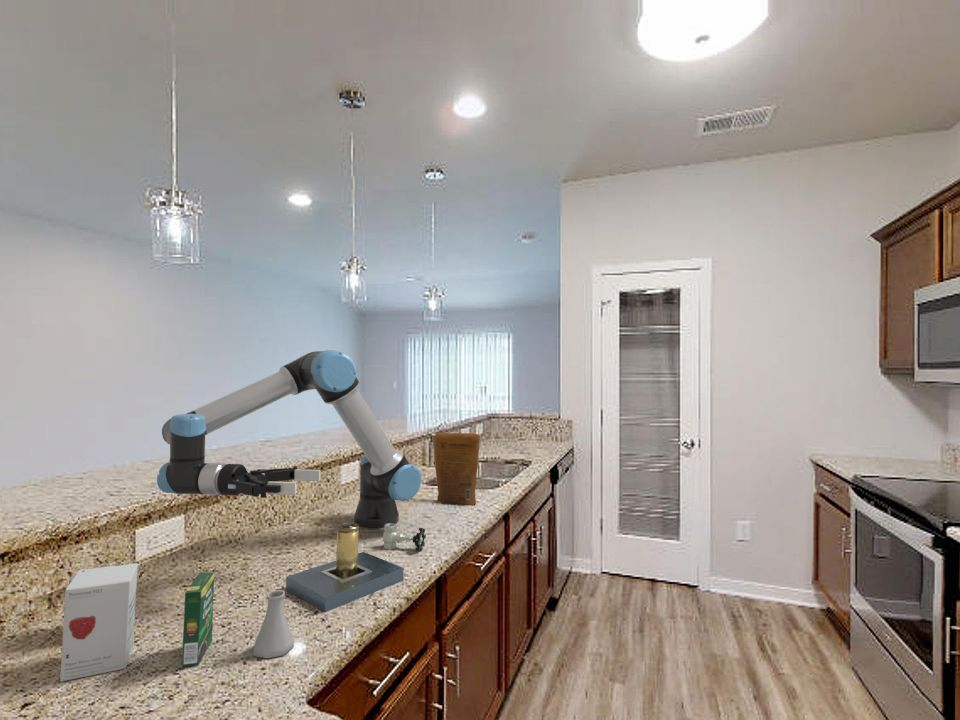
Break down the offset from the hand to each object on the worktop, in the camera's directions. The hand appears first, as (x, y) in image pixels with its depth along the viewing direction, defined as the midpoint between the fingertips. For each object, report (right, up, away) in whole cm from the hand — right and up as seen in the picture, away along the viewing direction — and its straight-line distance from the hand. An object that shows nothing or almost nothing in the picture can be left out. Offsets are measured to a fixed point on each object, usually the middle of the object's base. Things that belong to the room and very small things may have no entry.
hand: (308, 481), depth 119 cm
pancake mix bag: (+32, -27, +75) cm, 86 cm away
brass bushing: (+9, -24, -1) cm, 26 cm away
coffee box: (-9, -23, -31) cm, 40 cm away
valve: (+19, -26, +24) cm, 40 cm away
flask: (+4, -24, -29) cm, 37 cm away
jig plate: (+9, -24, -1) cm, 26 cm away
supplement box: (-24, -23, -34) cm, 48 cm away
